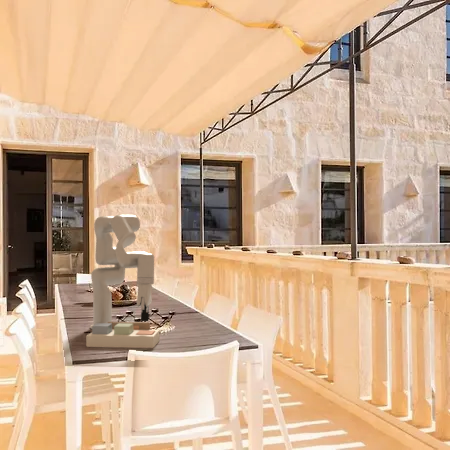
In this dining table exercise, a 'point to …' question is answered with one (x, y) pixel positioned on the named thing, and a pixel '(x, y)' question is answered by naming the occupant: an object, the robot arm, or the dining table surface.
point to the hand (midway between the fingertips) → (144, 320)
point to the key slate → (102, 328)
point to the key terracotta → (145, 332)
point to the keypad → (125, 337)
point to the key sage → (123, 328)
